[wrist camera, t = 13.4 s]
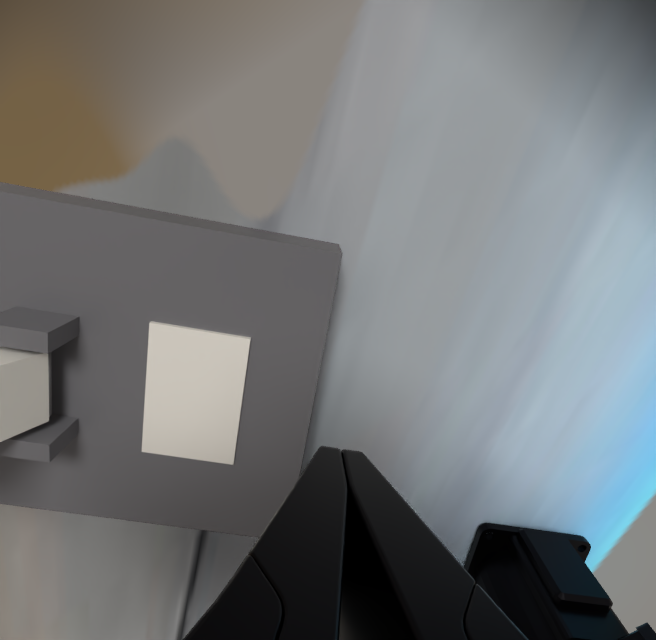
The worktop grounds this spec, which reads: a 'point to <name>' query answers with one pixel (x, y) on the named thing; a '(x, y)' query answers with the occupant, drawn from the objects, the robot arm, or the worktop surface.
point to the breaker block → (161, 360)
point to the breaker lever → (24, 390)
